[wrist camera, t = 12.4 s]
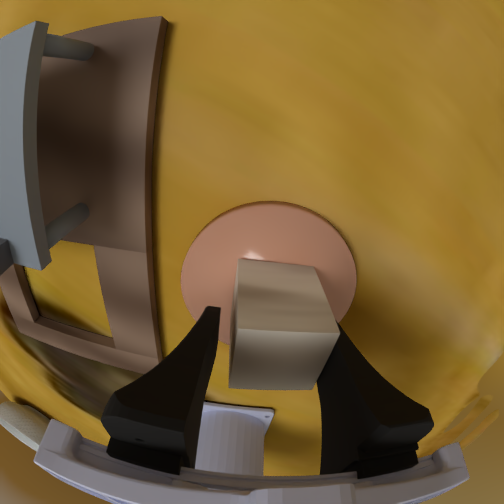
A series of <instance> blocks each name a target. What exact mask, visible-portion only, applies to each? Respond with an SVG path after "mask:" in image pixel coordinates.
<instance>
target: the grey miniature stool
mask: <svg viewBox="0 0 504 504" xmlns="http://www.w3.org/2000/svg"><path fill="white" fill-rule="evenodd" d="M48 26H49V23H44V22H39V21H35V22H32V23H30V24H28V25H26V26H24V27H22V28H20V29H18V30H16V31H14V32H12V33H10V34H8V35H6V36H4V37H3V38H1V39H0V276H1V275H2V274H3V273H4V272H5V271H6V270H7V269H8V268H9V267H10V266H12V265H13V264H14V263H15V264H19V265H22V266H26V267H30V268H34V269H38V270H41V271H42V270H43V269H44V268H45V267H46V266H47V265H48V264H49V263H50V262H51V261H52V260H51V256H50V252H49V249H50V248H51V247H53V246H54V245H55V244H56V243H57V242H58V241H60V240H61V239H62V238H63V237H64V236H66V235H67V234H68V233H69V232H71V231H72V230H73V229H74V228H76V227H77V226H78V225H79V224H81V223H82V222H83V221H85V220H86V219H87V218H88V217H89V209H88V207H87V205H86V204H84V203H78V204H76V205H75V206H73V207H72V208H70V209H69V210H67V211H66V212H64V213H63V214H62V215H60V216H59V217H57V218H56V219H54V220H53V221H51V222H50V223H49V224H47V225H46V226H44V220H43V213H42V206H41V198H40V189H39V179H38V165H37V102H38V89H39V79H40V71H41V63H42V57H43V56H44V57H55V58H64V59H72V60H79V61H86V60H88V59H89V58H90V57H91V56H92V55H93V53H94V46H93V44H91V43H88V42H84V41H80V40H76V39H71V38H67V37H62V36H57V35H52V34H47V30H48Z"/></svg>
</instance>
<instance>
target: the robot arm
mask: <svg viewBox="0 0 504 504" xmlns="http://www.w3.org/2000/svg"><path fill="white" fill-rule="evenodd" d="M220 314H221V307H214V306H207V307H205V309H204V311H203V313H202V315H201V316H200V318H199V319H198V321H197V322H196V324H195V325H194V326H193V328H192V329H191V330H190V332H189V333H188V334H187V336H186V337H185V338H184V339H183V340H182V341H181V342H180V344H179V345H178V346H177V347H176V348H175V349H174V350H173V351H172V352H171V353H170V354H169V355H168V356H167V357H166V358H165V359H163V360H162V361H161V362H160V363H159V364H158V365H156V366H155V367H154V368H153V369H151V370H150V371H149V372H147V373H146V374H144V375H143V376H141V377H140V378H138V379H137V380H135V381H134V382H132V383H130V384H128V385H126V386H125V387H123V388H121V389H119V390H117V391H115V392H114V393H113V395H112V396H111V398H110V399H109V401H108V403H107V405H106V407H105V409H104V412H103V415H102V417H101V422H102V424H103V426H104V428H105V429H106V431H107V432H108V433H109V435H110V436H111V438H110V441H109V444H108V447H107V446H104V445H102V444H99V443H96V442H94V441H91V440H89V439H86V438H84V437H82V435H81V434H80V433H79V432H78V431H77V430H76V429H74V428H72V427H70V426H68V425H66V424H64V423H62V422H59V421H57V420H55V419H51V421H50V423H49V425H48V427H47V429H46V432H45V434H44V436H43V439H42V441H41V443H40V446H39V448H38V450H37V453H36V456H35V458H34V463H36V464H37V465H39V466H40V467H41V468H43V469H44V470H46V471H47V472H49V473H50V474H52V475H53V476H55V477H56V478H58V479H59V480H61V481H63V482H66V483H67V484H69V485H71V486H73V487H76V488H78V489H80V490H82V491H84V492H87V493H89V494H91V495H94V496H96V497H98V498H101V499H103V500H106V501H108V502H111V503H114V504H418V503H421V502H423V501H426V500H429V499H431V498H434V497H436V496H438V495H441V494H442V493H445V492H447V491H448V490H450V489H452V488H454V487H456V486H458V485H459V484H461V483H463V482H464V481H466V480H468V479H469V474H468V471H467V467H466V463H465V460H464V457H463V454H462V451H461V448H460V445H459V442H455V443H452V444H449V445H446V446H443V447H441V448H439V449H438V450H436V451H435V452H434V453H433V454H432V455H428V456H425V457H421V458H417V454H416V450H418V448H419V447H418V444H417V442H418V441H420V440H421V439H422V438H423V437H424V436H426V435H427V434H428V433H429V432H430V431H431V430H432V428H433V426H434V422H433V419H432V417H431V414H430V411H429V409H428V408H426V407H424V406H422V405H421V404H419V403H417V402H415V401H413V400H412V399H410V398H409V397H407V396H406V395H404V394H403V393H402V392H400V391H399V390H398V389H396V388H395V387H394V386H393V385H391V384H390V383H389V382H388V381H387V380H385V379H384V378H383V377H382V376H381V375H380V374H379V373H378V372H377V371H376V370H375V369H374V368H373V367H372V366H371V365H370V364H369V362H368V361H367V360H366V359H365V358H364V357H363V355H362V354H361V353H360V352H359V350H358V349H357V348H356V347H355V345H354V344H353V343H352V341H351V340H350V339H349V337H348V336H347V335H346V333H345V332H344V330H343V329H342V328H341V326H340V325H339V323H338V322H337V321H336V320H335V321H336V323H337V326H338V328H339V331H340V335H339V337H338V339H337V341H336V343H335V345H334V347H333V350H332V352H331V354H330V356H329V358H328V360H327V362H326V364H325V366H324V368H323V370H322V371H321V373H320V375H319V377H318V379H317V387H318V393H319V398H320V405H321V419H322V451H321V467H320V475H312V476H263V464H264V436H265V434H266V431H267V429H268V427H269V425H270V423H271V420H272V418H273V416H274V410H272V409H263V408H251V407H241V406H232V405H224V404H216V403H209V402H204V399H205V394H206V390H207V387H208V383H209V379H210V376H211V372H212V368H213V364H214V361H215V357H216V351H217V344H218V338H219V326H220Z"/></svg>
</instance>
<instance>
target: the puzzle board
mask: <svg viewBox="0 0 504 504" xmlns="http://www.w3.org/2000/svg"><path fill="white" fill-rule="evenodd" d="M167 25H168V21H167V20H166V19H164V18H163V17H162V16H158V17H149V18H141V19H133V20H127V21H121V22H115V23H110V24H105V25H101V26H96V27H92V28H88V29H84V30H80V31H76V32H73V33H69V34H66V35H63V36H62V37H67V38H71V39H76V40H80V41H84V42H88V43H91V44H93V46H94V53H93V55H92V56H91V57H90V58H89V59H88V60H86V61H79V60H72V59H64V58H55V57H44V56H43V57H42V63H41V71H40V79H39V89H38V102H37V165H38V179H39V189H40V198H41V206H42V213H43V220H44V226H46V225H47V224H49V223H50V222H51V221H53V220H54V219H56V218H57V217H59V216H60V215H62V214H63V213H64V212H66V211H67V210H69V209H70V208H72V207H73V206H75V205H76V204H78V203H84V204H86V205H87V207H88V209H89V217H88V218H87V219H86V220H85V221H83V222H82V223H81V224H79V225H78V226H77V227H76V228H74V229H73V230H72V231H71V232H69V233H68V234H67V235H66V236H64V237H63V238H62V239H61V240H64V241H70V242H77V243H83V244H89V245H94V250H95V256H96V263H97V269H98V274H99V280H100V285H101V290H102V295H103V299H104V304H105V308H106V313H107V317H108V321H109V325H110V329H111V332H112V336H113V338H110V337H106V336H102V335H99V334H95V333H92V332H88V331H85V330H81V329H78V328H75V327H72V326H68V325H65V324H62V323H59V322H56V321H53V320H50V319H47V318H44V317H42V316H39V313H38V311H37V308H36V305H35V303H34V300H33V297H32V294H31V291H30V288H29V285H28V282H27V279H26V276H25V272H24V269H23V266H22V265H19V264H15V263H14V264H13V265H12V266H10V267H9V268H8V269H7V270H6V271H5V272H4V273H3V274H2V275H1V276H0V286H1V289H2V291H3V294H4V297H5V299H6V302H7V304H8V306H9V309H10V311H11V314H12V316H13V318H14V320H15V323H16V325H17V327H18V329H19V331H20V332H21V333H23V334H25V335H28V336H30V337H32V338H35V339H37V340H40V341H42V342H45V343H47V344H50V345H52V346H55V347H57V348H60V349H63V350H66V351H68V352H71V353H74V354H77V355H80V356H83V357H86V358H89V359H92V360H95V361H99V362H102V363H105V364H109V365H112V366H116V367H119V368H123V369H127V370H131V371H135V372H139V373H143V374H146V373H147V372H149V371H150V370H151V369H153V368H154V367H155V366H156V365H158V364H159V363H160V362H161V361H162V360H163V358H162V351H161V343H160V335H159V327H158V318H157V308H156V297H155V284H154V269H153V250H152V209H151V197H152V156H153V137H154V123H155V111H156V101H157V91H158V83H159V75H160V67H161V60H162V54H163V47H164V41H165V36H166V30H167Z"/></svg>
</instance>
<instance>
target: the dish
mask: <svg viewBox="0 0 504 504" xmlns="http://www.w3.org/2000/svg"><path fill="white" fill-rule="evenodd" d="M238 259H245V260H255V261H265V262H275V263H285V264H295V265H305V266H314V269H315V271H316V273H317V276H318V278H319V281H320V283H321V285H322V288H323V290H324V293H325V295H326V298H327V300H328V303H329V305H330V308H331V310H332V313H333V315H334V318H335V320H336V321H337V322H338V323H339V322H340V321H341V320H342V318H343V317H344V316H345V314H346V313H347V311H348V309H349V307H350V305H351V303H352V301H353V297H354V294H355V289H356V268H355V263H354V260H353V257H352V254H351V252H350V250H349V248H348V247H347V245H346V243H345V241H344V239H343V238H342V236H341V235H340V234H339V232H338V231H337V230H336V228H335V227H334V226H333V225H332V224H331V223H329V222H328V221H327V220H326V219H324V218H323V217H322V216H320V215H319V214H317V213H315V212H313V211H311V210H310V209H307V208H305V207H302V206H299V205H296V204H291V203H287V202H279V201H259V202H253V203H247V204H244V205H240V206H237V207H234V208H232V209H230V210H228V211H226V212H223V213H222V214H220V215H219V216H217V217H216V218H214V219H213V220H212V221H210V222H209V223H208V224H207V225H206V226H205V227H204V228H203V229H202V230H201V231H200V232H199V234H198V235H197V236H196V238H195V240H194V241H193V243H192V245H191V247H190V249H189V251H188V253H187V255H186V258H185V260H184V263H183V267H182V271H181V290H182V294H183V298H184V301H185V304H186V306H187V308H188V310H189V312H190V313H191V315H192V317H193V318H194V319H195V320H196V322H197V321H198V319H199V318H200V316H201V315H202V313H203V311H204V309H205V307H207V306H214V307H221V314H220V326H219V338H218V340H220V341H222V342H224V343H226V344H228V345H230V316H231V308H232V301H233V293H234V286H235V278H236V270H237V263H238Z"/></svg>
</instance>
